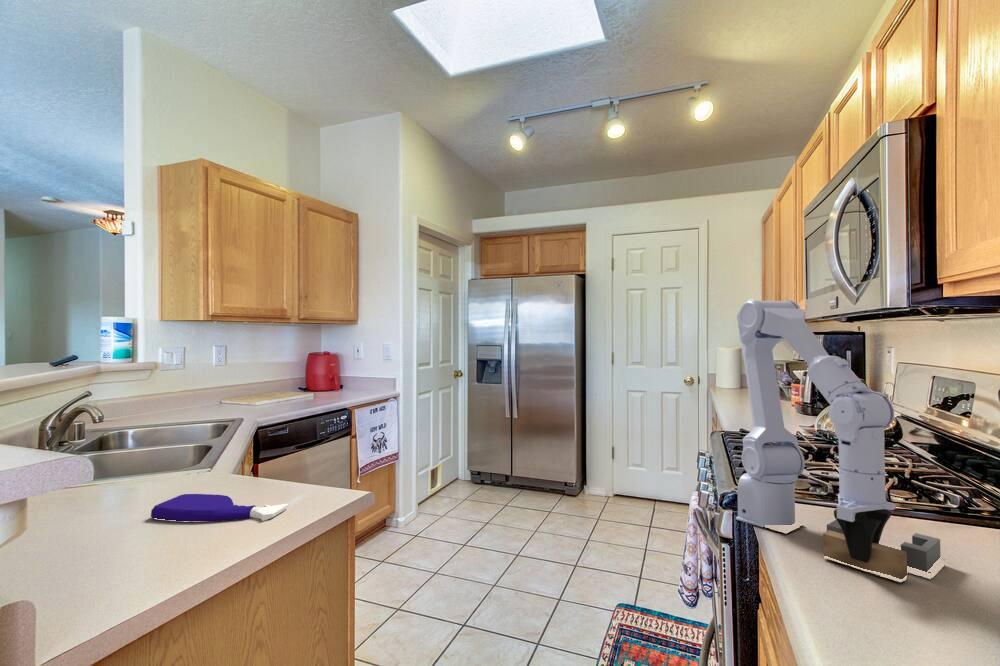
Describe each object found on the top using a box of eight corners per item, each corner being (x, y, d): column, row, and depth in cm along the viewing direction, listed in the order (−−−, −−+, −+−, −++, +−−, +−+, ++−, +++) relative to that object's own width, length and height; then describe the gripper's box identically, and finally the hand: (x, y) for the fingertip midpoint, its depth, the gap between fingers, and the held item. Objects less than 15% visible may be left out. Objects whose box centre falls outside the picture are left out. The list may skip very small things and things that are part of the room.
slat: (823, 558, 76) (822, 533, 76) (829, 554, 77) (828, 530, 77) (902, 583, 68) (901, 556, 68) (907, 578, 69) (906, 551, 69)
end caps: (826, 542, 80) (826, 524, 81) (844, 531, 85) (844, 515, 85) (926, 572, 70) (926, 551, 70) (940, 558, 75) (940, 539, 75)
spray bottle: (145, 508, 92) (262, 514, 90) (186, 491, 103) (292, 496, 101) (144, 523, 92) (262, 530, 90) (186, 504, 103) (292, 510, 101)
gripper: (877, 483, 66) (879, 581, 65) (908, 468, 74) (910, 554, 74) (820, 472, 71) (821, 562, 71) (854, 459, 80) (856, 539, 79)
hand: (863, 557), depth 73 cm, fingers closed on slat, 2 cm apart
